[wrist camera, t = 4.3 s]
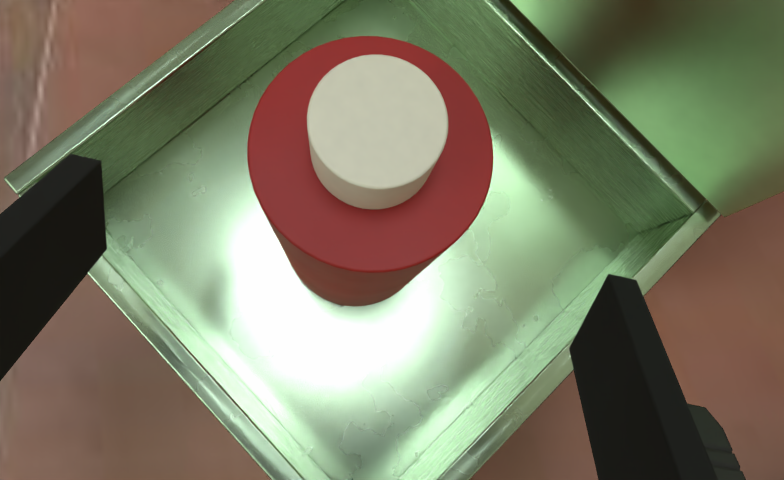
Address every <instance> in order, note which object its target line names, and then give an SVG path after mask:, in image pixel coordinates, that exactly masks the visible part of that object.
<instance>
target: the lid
mask: <svg viewBox="0 0 784 480" xmlns="http://www.w3.org/2000/svg"><path fill="white" fill-rule="evenodd" d="M510 1H511V2H512V3H513V4H514V5H515V6H516V7H517V8H518V9H519V10H520V11H521V12H522V13H523V14H524V15H525V16H526V17H527V18H528V19H529V20H530V21H531V22H532V23H533V24H534V25H535V26H536V27H537V29H538V30H539V31H540V32H541V33H542V34H543V35H544V36H545V37H546V38H547V39H548V40H549V41H550V42H551V43H552V44H553V45H554V46H555V47H556V48H557V49H558V50H559V51H560V52H561V53H562V54H563V55H564V56H565V57H566V58H567V59H568V60H569V61H570V62H571V63H572V64H573V65H574V66H575V67H576V68H577V69H578V70H579V71H580V72H581V73H582V74H583V75H584V76H585V77H586V78H587V79H588V80H589V81H590V82H591V83H592V84H593V85H594V86H595V87H596V88H597V89H598V90H599V91H600V92H601V93H602V94H603V95H604V96H605V97H606V98H607V99H608V100H609V101H610V102H611V103H612V104H613V105H614V106H615V107H616V108H617V109H618V110H619V111H620V112H621V113H622V114H623V115H624V116H625V117H626V118H627V119H628V120H629V121H630V122H631V123H632V124H633V125H634V126H635V127H636V128H637V129H638V130H639V131H640V132H641V133H642V134H643V135H644V136H645V138H646V139H647V140H648V141H649V142H650V143H651V144H652V145H653V146H654V147H655V148H656V149H657V150H658V151H659V152H660V153H661V154H662V155H663V156H664V157H665V158H666V159H667V160H668V161H669V162H670V163H671V164H672V165H673V166H674V167H675V168H676V169H677V170H678V171H679V172H680V173H681V174H682V175H683V176H684V177H685V178H686V179H687V180H688V181H689V182H690V183H691V184H692V185H693V186H694V187H695V188H696V189H697V190H698V191H699V192H700V193H701V194H702V195H703V196H704V197H705V198H706V199H707V200H708V201H709V202H710V203H711V204H712V205H713V206H714V207H715V208H716V209H717V210H718V211H719V212H720V213H721V214H722V215H723V216H724V217H727V216H729V215H731V214H734V213H736V212H738V211H740V210H743V209H745V208H747V207H749V206H752V205H754V204H756V203H758V202H761V201H763V200H765V199H768V198H770V197H772V196H774V195H777V194H779V193H781V192H783V191H784V0H510Z"/></svg>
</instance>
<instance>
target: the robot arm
mask: <svg viewBox="0 0 784 480" xmlns="http://www.w3.org/2000/svg"><path fill="white" fill-rule="evenodd" d="M106 250H107V242H106V226H105V211H104V195H103V180H102V164H101V161H100V160H96V159H91V158H87V157H83V156H78V155H74V154H69V155H68V156H67V157H66V158H65V159H64V160H62V161H61V162H60V163H59V164H58V165H57V166H56V167H54V168H53V169H52V170H51V171H50V172H49V173H47V174H46V175H45V176H44V177H43V178H42V179H41V180H39V181H38V182H37V183H36V184H35V185H34V186H32V187H31V188H30V189H29V190H28V191H27V192H26V193H24V194H23V195H22V196H21V197H20V198H19V199H17V200H16V201H15V202H14V203H13V204H12V205H10V206H9V207H8V208H7V209H6V210H5V211H4V212H2V213H1V214H0V381H1V379H2V378H3V377H4V376H5V374H6V373H7V372H8V371H9V370H10V368H11V367H12V366H13V365H14V363H15V362H16V361H17V360H18V358H19V357H20V356H21V355H22V353H23V352H24V351H25V350H26V349H27V347H28V346H29V345H30V344H31V342H32V341H33V340H34V339H35V337H36V336H37V335H38V334H39V332H40V331H41V330H42V329H43V328H44V326H45V325H46V324H47V323H48V321H49V320H50V319H51V318H52V316H53V315H54V314H55V313H56V311H57V310H58V309H59V308H60V306H61V305H62V304H63V303H64V302H65V300H66V299H67V298H68V297H69V295H70V294H71V293H72V292H73V290H74V289H75V288H76V287H77V285H78V284H79V283H80V282H81V281H82V279H83V278H84V277H85V276H86V274H87V273H88V272H89V271H90V269H91V268H92V267H93V266H94V264H95V263H96V262H97V261H98V260H99V258H100V257H101V256H102V255H103V253H104V252H105V251H106ZM569 351H570V355H571V360H572V364H573V369H574V373H575V377H576V382H577V386H578V391H579V395H580V400H581V404H582V408H583V413H584V417H585V422H586V426H587V430H588V435H589V439H590V444H591V448H592V453H593V457H594V461H595V466H596V470H597V475H598V479H599V480H746V479H745V477H744V474H743V472H742V471H740V465H739V463H738V461H737V459H736V457H735V454H733V453H732V448H731V446H730V443H729V441H728V439H727V437H726V434H725V432H724V430H723V428H722V427H721V426H720V424H719V423H718V422H717V421H716V420H715V418H714V417H713V416H712V415H711V414H710V412H709V411H708V410H707V409H706V408H705V407H700V406H695V405H691V404H687V402H686V400H685V397H684V395H683V392H682V390H681V388H680V385H679V383H678V380H677V378H676V375H675V373H674V370H673V368H672V366H671V363H670V361H669V358H668V356H667V353H666V351H665V348H664V346H663V344H662V341H661V339H660V336H659V334H658V331H657V329H656V326H655V324H654V322H653V319H652V317H651V314H650V312H649V309H648V307H647V304H646V302H645V300H644V297H643V295H642V292H641V290H640V287H639V285H638V282H637V280H634V279H630V278H625V277H621V276H616V275H612V274H608V275H607V277H606V279H605V281H604V283H603V285H602V287H601V289H600V291H599V292H598V294H597V296H596V298H595V300H594V302H593V304H592V306H591V308H590V310H589V311H588V313H587V315H586V317H585V319H584V321H583V323H582V325H581V327H580V329H579V330H578V332H577V334H576V336H575V338H574V340H573V342H572V344H571V346H570V348H569Z"/></svg>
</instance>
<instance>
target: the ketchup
mask: <svg viewBox="0 0 784 480" xmlns="http://www.w3.org/2000/svg"><path fill="white" fill-rule="evenodd" d="M493 159H494V156H493V142H492V137H491V132H490V127H489V124H488V121H487V118H486V115H485V113H484V111H483V109H482V107H481V105H480V102H479V100H478V99H477V97H476V96H475V94H474V93H473V91H472V89H471V88H470V86H469V85H468V84H467V83H466V82H465V81H464V79H463V78H462V77H461V76H460V75H459V74H458V73H457V72H456V71H455V70H454V69H453V68H452V67H451V66H449V65H448V64H447V63H446V62H444V61H443V60H441V59H440V58H439V57H437V56H436V55H434V54H432V53H430V52H429V51H427V50H425V49H423V48H421V47H418V46H416V45H413V44H411V43H408V42H405V41H401V40H397V39H393V38H387V37H380V36H356V37H347V38H342V39H338V40H334V41H330V42H327V43H325V44H322V45H319V46H317V47H315V48H313V49H311V50H309V51H307V52H305V53H303V54H302V55H300V56H299V57H297V58H296V59H295V60H293V61H292V62H290V63H289V64H288V65H287V66H286V67H285V68H284V69H283V70H282V71H281V72H279V73H278V74H277V76H276V77H275V78H274V79H273V81H272V82H271V83H270V84H269V85H268V87H267V89H266V90H265V92H264V93H263V95H262V97H261V98H260V100H259V102H258V105H257V107H256V109H255V112H254V114H253V118H252V121H251V125H250V128H249V135H248V142H247V161H248V168H249V175H250V179H251V182H252V186H253V190H254V192H255V195H256V197H257V199H258V201H259V204H260V206H261V208H262V210H263V212H264V214H265V216H266V218H267V219H268V221H269V223H270V225H271V227H272V229H273V231H274V233H275V235H276V237H277V239H278V241H279V243H280V245H281V246H282V248H283V250H284V252H285V254H286V256H287V258H288V260H289V262H290V264H291V266H292V268H293V269H294V271H295V273H296V274H297V276H298V277H299V279H300V280H301V281H302V282H303V284H304V285H305V286H306V287H308V288H309V289H310V290H311V291H312V292H314V293H315V294H316V295H318V296H319V297H321V298H323V299H325V300H327V301H330V302H333V303H335V304H340V305H344V306H366V305H372V304H375V303H378V302H381V301H383V300H386V299H388V298H390V297H391V296H393V295H394V294H396V293H397V292H399V291H400V290H401V289H402V288H403V287H404V286H406V285H407V284H408V283H409V282H410V281H411V280H413V279H414V278H415V277H416V276H417V275H418V274H419V273H421V272H422V271H423V270H424V269H425V268H426V267H428V266H429V265H430V264H431V263H432V262H433V261H434V260H436V259H437V258H438V257H439V256H440V255H441V254H442V253H444V252H445V251H446V250H447V249H448V248H449V247H451V246H452V245H453V244H454V243H455V242H456V241H457V240H458V239H459V238H460V237H461V236H462V235H463V234H464V233H465V232H466V231H467V230H468V229H469V227H470V226H471V224H472V223H473V221H474V220H475V219H476V217H477V216H478V214H479V212H480V210H481V208H482V206H483V204H484V202H485V199H486V196H487V193H488V190H489V188H490V183H491V178H492V173H493Z"/></svg>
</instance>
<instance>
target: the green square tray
mask: <svg viewBox="0 0 784 480" xmlns="http://www.w3.org/2000/svg"><path fill="white" fill-rule="evenodd" d="M356 36H380V37H387V38H393V39H397V40H401V41H405V42H408V43H411V44H413V45H416V46H418V47H421V48H423V49H425V50H427V51H429V52H430V53H432V54H434V55H436V56H437V57H439V58H440V59H441V60H443V61H444V62H446V63H447V64H448V65H449V66H451V67H452V68H453V69H454V70H455V71H456V72H457V73H458V74H459V75H460V76H461V77H462V78H463V79H464V81H465V82H466V83H467V84H468V85H469V86H470V88H471V89H472V91H473V93H474V94H475V96H476V97H477V99H478V100H479V102H480V105H481V107H482V109H483V111H484V113H485V115H486V118H487V121H488V124H489V127H490V132H491V137H492V142H493V156H494V159H493V173H492V178H491V183H490V188H489V190H488V193H487V196H486V199H485V202H484V204H483V206H482V208H481V210H480V212H479V214H478V216H477V217H476V219H475V220H474V221H473V223H472V224H471V226H470V227H469V229H468V230H467V231H466V232H465V233H464V234H463V235H462V236H461V237H460V238H459V239H458V240H457V241H456V242H455V243H454V244H453V245H452V246H451V247H449V248H448V249H447V250H446V251H445V252H444V253H442V254H441V255H440V256H439V257H438V258H437V259H436V260H434V261H433V262H432V263H431V264H430V265H429V266H428V267H426V268H425V269H424V270H423V271H422V272H421V273H419V274H418V275H417V276H416V277H415V278H414V279H413V280H411V281H410V282H409V283H408V284H407V285H406V286H404V287H403V288H402V289H401V290H400V291H399V292H397V293H396V294H394V295H393V296H391V297H390V298H388V299H386V300H383V301H381V302H378V303H375V304H372V305H366V306H344V305H340V304H335V303H333V302H330V301H327V300H325V299H323V298H321V297H319V296H318V295H316V294H315V293H314V292H312V291H311V290H310V289H309V288H308V287H306V286H305V285H304V284H303V282H302V281H301V280H300V279H299V277H298V276H297V274H296V273H295V271H294V269H293V268H292V266H291V264H290V262H289V260H288V258H287V256H286V254H285V252H284V250H283V248H282V246H281V245H280V243H279V241H278V239H277V237H276V235H275V233H274V231H273V229H272V227H271V225H270V223H269V221H268V219H267V218H266V216H265V214H264V212H263V210H262V208H261V206H260V204H259V201H258V199H257V197H256V195H255V192H254V190H253V186H252V182H251V179H250V175H249V168H248V161H247V142H248V135H249V128H250V125H251V121H252V118H253V114H254V112H255V109H256V107H257V105H258V102H259V100H260V98H261V97H262V95H263V93H264V92H265V90H266V89H267V87H268V85H269V84H270V83H271V82H272V81H273V79H274V78H275V77H276V76H277V74H278V73H279V72H281V71H282V70H283V69H284V68H285V67H286V66H287V65H288V64H289V63H290V62H292V61H293V60H295V59H296V58H297V57H299V56H300V55H302V54H303V53H305V52H307V51H309V50H311V49H313V48H315V47H317V46H319V45H322V44H325V43H327V42H330V41H334V40H338V39H342V38H347V37H356ZM69 154H74V155H78V156H83V157H87V158H91V159H96V160H100V161H101V164H102V180H103V195H104V211H105V226H106V242H107V250H106V251H105V252H104V253H103V255H102V256H101V257H100V258H99V260H98V261H97V262H96V263H95V264H94V266H93V267H92V268H91V269H90V271H89V272H88V273H87V274H88V275H89V276H90V277H91V278H92V279H93V281H94V282H95V283H96V284H97V285H98V286H99V287H100V288H101V289H102V291H103V292H104V293H105V294H106V295H107V296H108V297H109V298H110V300H111V301H112V302H113V303H114V304H115V305H116V306H117V307H118V309H119V310H120V311H121V312H122V313H123V314H124V315H125V316H126V317H127V319H128V320H129V321H130V322H131V323H132V324H133V325H134V326H135V328H136V329H137V330H138V331H139V332H140V333H141V334H142V335H143V336H144V338H145V339H146V340H147V341H148V342H149V343H150V344H151V345H152V347H153V348H154V349H155V350H156V351H157V352H158V353H159V354H160V355H161V357H162V358H163V359H164V360H165V361H166V362H167V363H168V364H169V366H170V367H171V368H172V369H173V370H174V371H175V372H176V373H177V375H178V376H179V377H180V378H181V379H182V380H183V381H184V382H185V383H186V385H187V386H188V387H189V388H190V389H191V390H192V391H193V392H194V394H195V395H196V396H197V397H198V398H199V399H200V400H201V401H202V402H203V404H204V405H205V406H206V407H207V408H208V409H209V410H210V411H211V413H212V414H213V415H214V416H215V417H216V418H217V419H218V420H219V421H220V423H221V424H222V425H223V426H224V427H225V428H226V429H227V430H228V432H229V433H230V434H231V435H232V436H233V437H234V438H235V439H236V441H237V442H238V443H239V444H240V445H241V446H242V447H243V448H244V449H245V451H246V452H247V453H248V454H249V455H250V456H251V457H252V458H253V460H254V461H255V462H256V463H257V464H258V465H259V466H260V467H261V468H262V470H263V471H264V472H265V473H266V474H267V475H268V476H269V477H270V479H271V480H469V479H470V478H471V477H472V476H473V475H474V474H475V473H476V472H477V471H478V470H479V469H480V468H481V467H482V466H483V465H484V464H485V463H486V462H487V461H488V459H489V458H490V457H491V456H492V455H493V454H494V453H495V452H496V451H497V450H498V449H499V448H500V447H501V446H502V445H503V444H504V443H505V442H506V441H507V440H508V438H509V437H510V436H511V435H512V434H513V433H514V432H515V431H516V430H517V429H518V428H519V427H520V426H521V425H522V424H523V423H524V422H525V421H526V420H527V418H528V417H529V416H530V415H531V414H532V413H533V412H534V411H535V410H536V409H537V408H538V407H539V406H540V405H541V404H542V403H543V402H544V401H545V400H546V398H547V397H548V396H549V395H550V394H551V393H552V392H553V391H554V390H555V389H556V388H557V387H558V386H559V385H560V384H561V383H562V382H563V381H564V380H565V378H566V377H567V376H568V375H569V374H570V373H571V372H572V371H573V370H574V369H573V364H572V360H571V355H570V351H569V348H570V346H571V344H572V342H573V340H574V338H575V336H576V334H577V332H578V330H579V329H580V327H581V325H582V323H583V321H584V319H585V317H586V315H587V313H588V311H589V310H590V308H591V306H592V304H593V302H594V300H595V298H596V296H597V294H598V292H599V291H600V289H601V287H602V285H603V283H604V281H605V279H606V277H607V275H608V274H612V275H616V276H621V277H625V278H630V279H634V280H637V282H638V285H639V287H640V290H641V292H642V295H643V296H644V295H645V294H646V293H647V292H648V291H649V290H650V289H651V288H652V287H653V286H654V285H655V284H656V283H657V282H658V281H659V280H660V279H661V278H662V276H663V275H664V274H665V273H666V272H667V271H668V270H669V269H670V268H671V267H672V266H673V265H674V264H675V263H676V262H677V261H678V260H679V259H680V258H681V256H682V255H683V254H684V253H685V252H686V251H687V250H688V249H689V248H690V247H691V246H692V245H693V244H694V243H695V242H696V241H697V240H698V239H699V238H700V236H701V235H702V234H703V233H704V232H705V231H706V230H707V229H708V228H709V227H710V226H711V225H712V224H713V223H714V222H715V221H716V220H717V219H718V218H719V216H720V215H721V213H720V212H719V211H718V210H717V209H716V208H715V207H714V206H713V205H712V204H711V203H710V202H709V201H708V200H706V198H705V197H704V196H703V195H702V194H701V193H700V192H699V191H698V190H697V189H696V188H695V187H694V186H693V185H692V184H691V183H690V182H689V181H688V180H687V179H686V178H685V177H684V176H683V175H682V174H681V173H680V172H679V171H678V170H677V169H676V168H675V167H674V166H673V165H672V164H671V163H670V162H669V161H668V160H667V159H666V158H665V157H664V156H663V155H662V154H661V153H660V152H659V151H658V150H657V149H656V148H655V147H654V146H653V145H652V144H651V143H650V142H649V141H648V140H647V139H646V138H645V136H644V135H643V134H642V133H641V132H640V131H639V130H638V129H637V128H636V127H635V126H634V125H633V124H632V123H631V122H630V121H629V120H628V119H627V118H626V117H625V116H624V115H623V114H622V113H621V112H620V111H619V110H618V109H617V108H616V107H615V106H614V105H613V104H612V103H611V102H610V101H609V100H608V99H607V98H606V97H605V96H604V95H603V94H602V93H601V92H600V91H599V90H598V89H597V88H596V87H595V86H594V85H593V84H592V83H591V82H590V81H589V80H588V79H587V78H586V77H585V76H584V75H583V74H582V73H581V72H580V71H579V70H578V69H577V68H576V67H575V66H574V65H573V64H572V63H571V62H570V61H569V60H568V59H567V58H566V57H565V56H564V55H563V54H562V53H561V52H560V51H559V50H558V49H557V48H556V47H555V46H554V45H553V44H552V43H551V42H550V41H549V40H548V39H547V38H546V37H545V36H544V35H543V34H542V33H541V32H540V31H539V30H538V29H537V27H536V26H535V25H534V24H533V23H532V22H531V21H530V20H529V19H528V18H527V17H526V16H525V15H524V14H523V13H522V12H521V11H520V10H519V9H518V8H517V7H516V6H515V5H514V4H513V3H512V2H511V1H510V0H234V1H233V2H232V3H230V4H229V5H228V6H227V7H225V8H224V9H223V10H221V11H220V12H219V13H217V14H216V15H215V16H214V17H212V18H211V19H210V20H208V21H207V22H206V23H204V24H203V25H202V26H201V27H199V28H198V29H197V30H195V31H194V32H193V33H191V34H190V35H189V36H188V37H186V38H185V39H184V40H182V41H181V42H180V43H178V44H177V45H176V46H175V47H173V48H172V49H171V50H169V51H168V52H167V53H165V54H164V55H163V56H162V57H160V58H159V59H158V60H156V61H155V62H154V63H153V64H151V65H150V66H149V67H147V68H146V69H145V70H143V71H142V72H141V73H140V74H138V75H137V76H136V77H134V78H133V79H132V80H130V81H129V82H128V83H127V84H125V85H124V86H123V87H121V88H120V89H119V90H117V91H116V92H115V93H114V94H112V95H111V96H110V97H108V98H107V99H106V100H104V101H103V102H102V103H101V104H99V105H98V106H97V107H95V108H94V109H93V110H91V111H90V112H89V113H88V114H86V115H85V116H84V117H82V118H81V119H80V120H78V121H77V122H76V123H75V124H73V125H72V126H71V127H69V128H68V129H67V130H65V131H64V132H63V133H62V134H60V135H59V136H58V137H56V138H55V139H54V140H52V141H51V142H50V143H49V144H47V145H46V146H45V147H43V148H42V149H41V150H39V151H38V152H37V153H36V154H34V155H33V156H32V157H30V158H29V159H28V160H26V161H25V162H24V163H23V164H21V165H20V166H19V167H17V168H16V169H15V170H13V171H12V172H11V173H10V174H8V175H7V176H6V177H5V178H4V180H5V182H6V183H7V184H8V185H9V186H10V188H11V189H12V190H13V191H14V192H15V193H16V194H18V196H19V198H20V197H21V196H22V195H23V194H24V193H26V192H27V191H28V190H29V189H30V188H31V187H32V186H34V185H35V184H36V183H37V182H38V181H39V180H41V179H42V178H43V177H44V176H45V175H46V174H47V173H49V172H50V171H51V170H52V169H53V168H54V167H56V166H57V165H58V164H59V163H60V162H61V161H62V160H64V159H65V158H66V157H67V156H68V155H69Z"/></svg>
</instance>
